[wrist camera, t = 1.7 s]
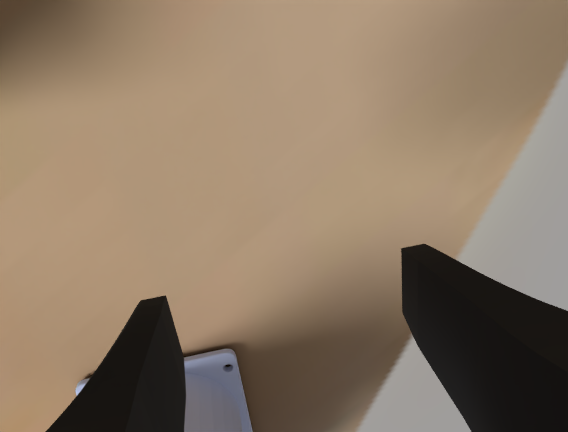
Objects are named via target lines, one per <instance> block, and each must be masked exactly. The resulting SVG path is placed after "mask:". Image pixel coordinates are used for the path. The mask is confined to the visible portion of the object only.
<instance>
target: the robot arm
mask: <svg viewBox="0 0 568 432" xmlns="http://www.w3.org/2000/svg"><path fill="white" fill-rule="evenodd" d="M401 253H402V312H403V315H404V317H405V319H406V321H407V324H408V326H409V328H410V330H411V332H412V335H413V337H414V339H415V341H416V343H417V345H418V347H419V348H420V350H421V351H422V353H423V355H424V356H425V358H426V360H427V361H428V363H429V364H430V366H431V368H432V369H433V371H434V372H435V374H436V375H437V377H438V379H439V380H440V382H441V383H442V385H443V386H444V388H445V389H446V391H447V393H448V394H449V396H450V397H451V399H452V400H453V402H454V404H455V405H456V407H457V408H458V410H459V411H460V413H461V414H462V416H463V418H464V419H465V421H466V423H467V425H468V426H469V428H470V430H471V432H568V311H566V310H564V309H561V308H558V307H555V306H553V305H550V304H547V303H545V302H542V301H540V300H537V299H535V298H532V297H530V296H528V295H525V294H523V293H521V292H519V291H516V290H514V289H512V288H510V287H507V286H505V285H503V284H501V283H499V282H497V281H495V280H493V279H491V278H489V277H487V276H485V275H483V274H481V273H479V272H477V271H475V270H473V269H472V268H470V267H468V266H466V265H464V264H462V263H460V262H459V261H457V260H455V259H453V258H451V257H449V256H447V255H446V254H444V253H442V252H440V251H438V250H436V249H434V248H432V247H430V246H428V245H426V244H421V245H416V246H411V247H406V248H401ZM227 364H231V366H229V367H225V365H227ZM76 395H77V396H76V398H75V399H74V400H73V401H72V403H71V404H70V405H69V406H68V407H67V409H66V410H65V411H64V412H63V413H62V414H61V415H60V416H59V418H58V419H57V420H56V421H55V422H54V423H53V424H52V425H51V426H50V428H49V429H48V430H47V431H46V432H253V430H252V426H251V421H250V417H249V412H248V408H247V403H246V399H245V394H244V390H243V385H242V381H241V376H240V372H239V367H238V363H237V358H236V354H235V352H234V351H233V350H232V349H221V350H216V351H212V352H207V353H203V354H198V355H193V356H189V357H183V353H182V350H181V346H180V343H179V339H178V336H177V332H176V329H175V325H174V322H173V318H172V315H171V312H170V308H169V305H168V301H167V298H166V296H161V297H156V298H151V299H146V300H141V301H140V302H139V304H138V305H137V307H136V308H135V310H134V312H133V313H132V315H131V317H130V318H129V320H128V322H127V323H126V325H125V327H124V328H123V330H122V332H121V333H120V335H119V336H118V338H117V340H116V341H115V343H114V344H113V346H112V347H111V349H110V350H109V352H108V353H107V355H106V356H105V358H104V359H103V361H102V362H101V364H100V365H99V367H98V368H97V370H96V371H95V372H94V374H93V375H92V376H91V378H88V379H84V380H81V381H80V382H79V383H78V384H77V387H76Z"/></svg>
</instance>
